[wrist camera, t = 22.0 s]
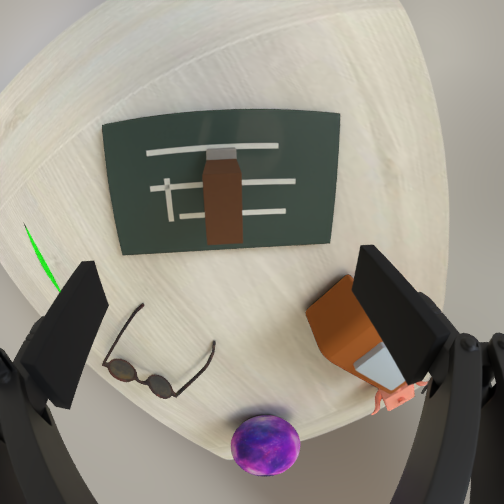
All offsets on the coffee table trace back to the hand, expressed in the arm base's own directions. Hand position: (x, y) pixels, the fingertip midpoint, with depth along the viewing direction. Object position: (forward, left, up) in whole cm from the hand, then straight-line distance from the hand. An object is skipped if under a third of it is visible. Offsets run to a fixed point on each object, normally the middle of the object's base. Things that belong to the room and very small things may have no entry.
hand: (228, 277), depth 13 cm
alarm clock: (-22, +24, -20) cm, 38 cm away
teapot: (-35, +44, -20) cm, 60 cm away
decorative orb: (-5, +53, -20) cm, 57 cm away
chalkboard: (0, 0, -20) cm, 20 cm away
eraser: (0, 0, -19) cm, 19 cm away
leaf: (+28, +9, -20) cm, 36 cm away
